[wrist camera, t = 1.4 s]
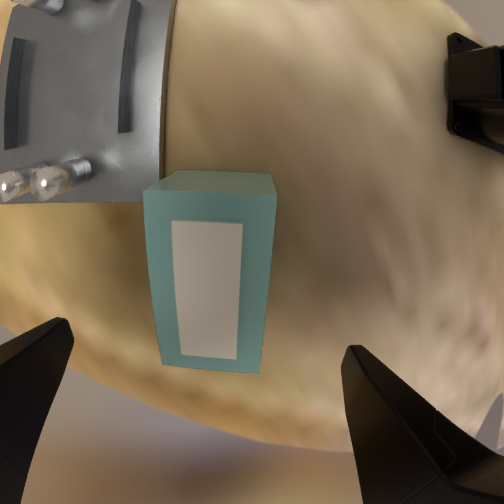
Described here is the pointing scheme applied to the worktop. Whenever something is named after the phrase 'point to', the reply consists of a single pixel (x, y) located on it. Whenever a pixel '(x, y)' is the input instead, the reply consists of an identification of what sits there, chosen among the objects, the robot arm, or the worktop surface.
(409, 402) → the robot arm
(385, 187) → the worktop surface
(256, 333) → the block
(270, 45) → the worktop surface
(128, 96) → the metal plate device
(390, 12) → the worktop surface
